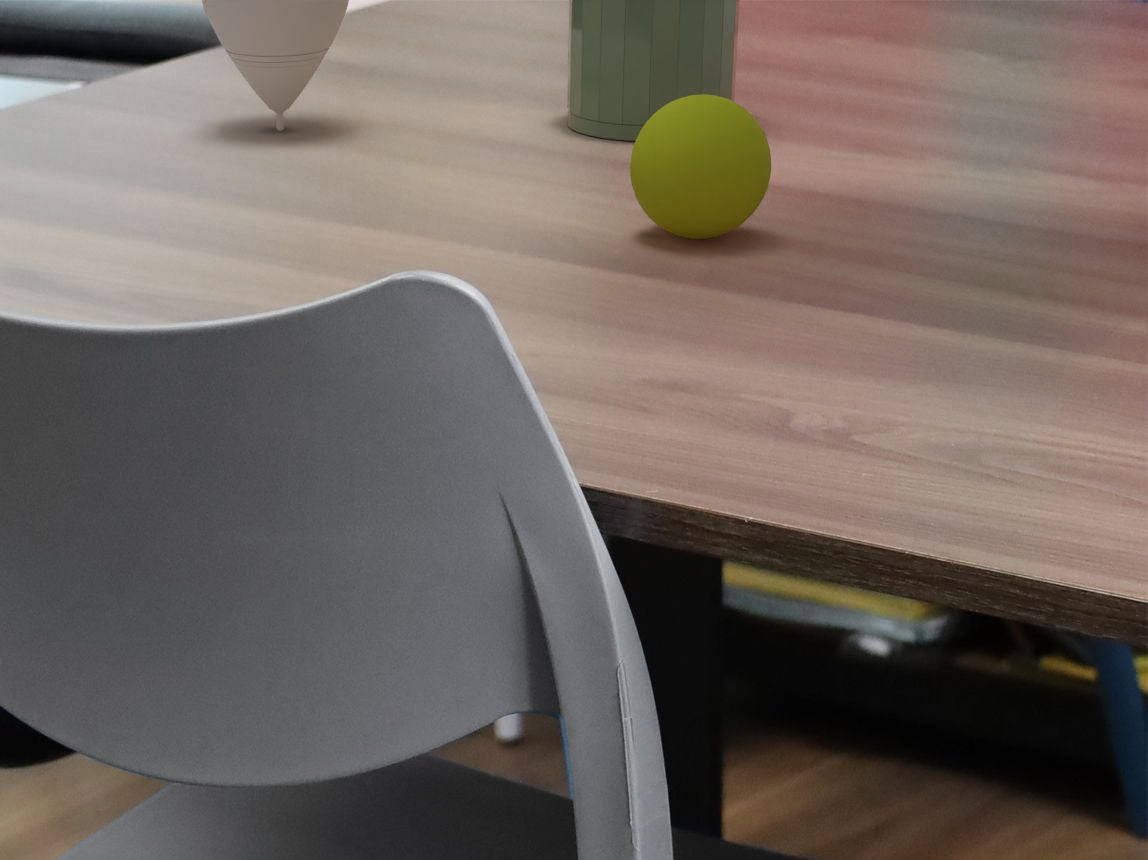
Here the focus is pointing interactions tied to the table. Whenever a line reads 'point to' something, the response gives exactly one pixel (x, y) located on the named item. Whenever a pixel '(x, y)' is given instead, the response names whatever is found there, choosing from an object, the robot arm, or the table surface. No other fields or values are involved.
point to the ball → (700, 166)
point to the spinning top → (276, 43)
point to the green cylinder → (645, 59)
